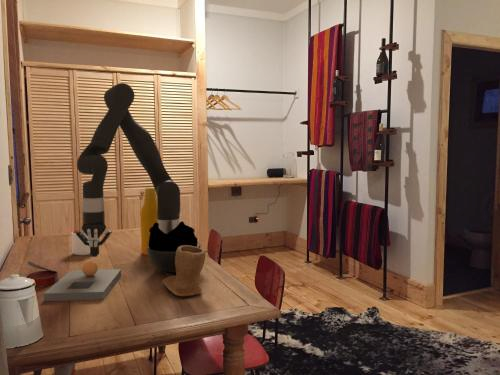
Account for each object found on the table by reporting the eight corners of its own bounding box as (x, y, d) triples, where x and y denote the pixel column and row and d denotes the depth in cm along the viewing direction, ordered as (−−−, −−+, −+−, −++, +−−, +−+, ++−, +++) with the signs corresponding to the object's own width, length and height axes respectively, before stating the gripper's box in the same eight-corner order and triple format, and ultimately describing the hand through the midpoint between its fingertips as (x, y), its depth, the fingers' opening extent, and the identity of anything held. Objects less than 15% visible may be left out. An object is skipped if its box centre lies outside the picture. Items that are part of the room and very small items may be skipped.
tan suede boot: (211, 295, 136) (210, 249, 134) (175, 301, 130) (174, 253, 129) (195, 281, 149) (194, 239, 147) (161, 286, 144) (160, 243, 142)
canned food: (30, 294, 150) (28, 267, 153) (61, 287, 154) (58, 261, 157) (23, 289, 140) (21, 260, 143) (56, 282, 144) (53, 254, 147)
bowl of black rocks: (211, 268, 164) (210, 220, 163) (177, 283, 147) (176, 229, 145) (171, 261, 175) (170, 216, 173) (136, 274, 157) (134, 224, 156)
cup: (100, 250, 193) (99, 229, 192) (90, 256, 183) (89, 233, 182) (79, 250, 194) (78, 228, 193) (68, 255, 184) (67, 233, 183)
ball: (99, 273, 150) (99, 259, 150) (95, 277, 146) (94, 263, 145) (85, 273, 150) (84, 259, 150) (80, 278, 145) (79, 263, 145)
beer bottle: (164, 254, 186) (162, 188, 183) (142, 256, 183) (140, 189, 180) (160, 249, 195) (159, 186, 192) (140, 251, 191) (138, 187, 188)
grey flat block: (121, 275, 156) (121, 269, 155) (103, 299, 132) (103, 291, 132) (71, 277, 154) (70, 270, 154) (44, 301, 131) (43, 293, 130)
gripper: (114, 208, 158) (115, 253, 160) (78, 208, 157) (80, 253, 159) (109, 211, 151) (110, 259, 152) (71, 211, 150) (72, 259, 152)
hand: (94, 256), depth 156 cm, fingers closed
